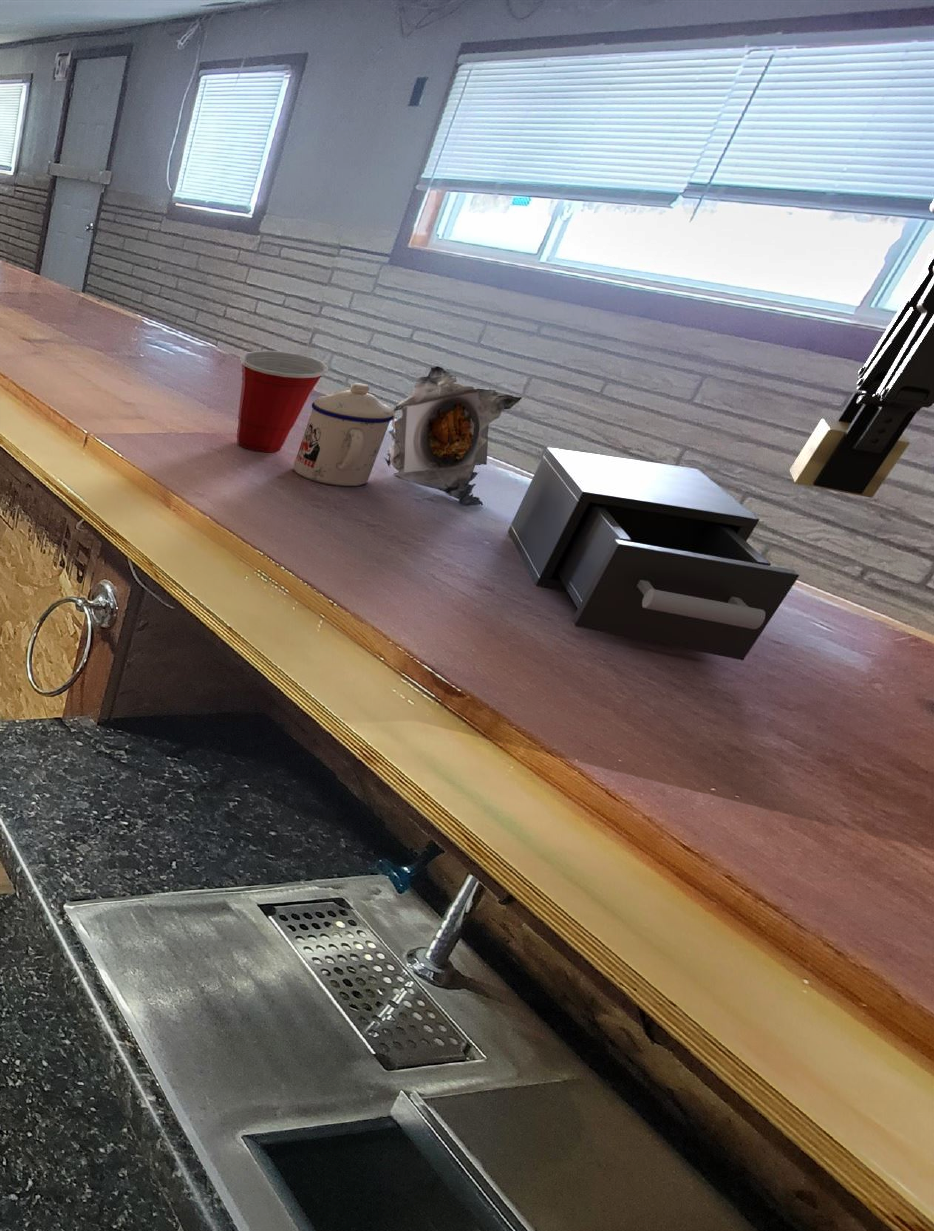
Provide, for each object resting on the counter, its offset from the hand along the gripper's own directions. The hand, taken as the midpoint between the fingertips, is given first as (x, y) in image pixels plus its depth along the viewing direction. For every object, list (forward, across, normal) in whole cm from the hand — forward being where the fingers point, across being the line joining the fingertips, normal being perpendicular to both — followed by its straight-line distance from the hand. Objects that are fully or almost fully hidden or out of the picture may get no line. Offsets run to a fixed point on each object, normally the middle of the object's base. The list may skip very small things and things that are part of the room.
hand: (833, 480), depth 73 cm
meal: (+15, -28, -28) cm, 42 cm away
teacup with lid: (+15, -20, -38) cm, 45 cm away
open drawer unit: (+14, +4, -7) cm, 16 cm away
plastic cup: (+15, -28, -49) cm, 58 cm away
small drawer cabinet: (+15, -9, -10) cm, 20 cm away
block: (0, 0, 0) cm, 0 cm away
